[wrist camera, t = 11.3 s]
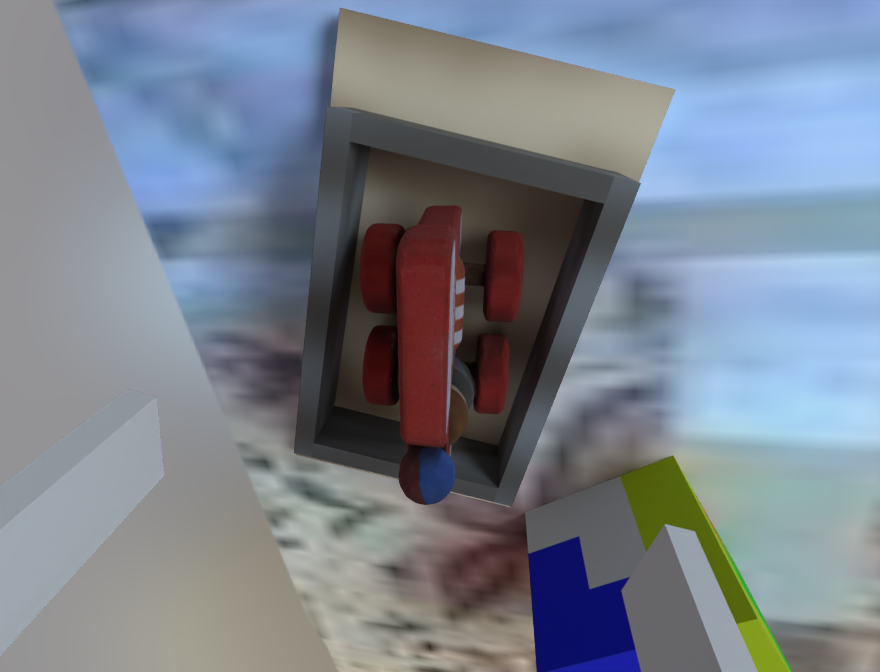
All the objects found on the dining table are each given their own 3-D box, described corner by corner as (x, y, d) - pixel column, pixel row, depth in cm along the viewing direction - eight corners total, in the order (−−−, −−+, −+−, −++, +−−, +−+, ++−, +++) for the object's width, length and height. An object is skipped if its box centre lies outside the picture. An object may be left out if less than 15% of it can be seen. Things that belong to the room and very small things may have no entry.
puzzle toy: (525, 511, 31) (536, 674, 22) (672, 455, 28) (757, 618, 19) (592, 600, 34) (627, 775, 25) (732, 559, 31) (830, 742, 22)
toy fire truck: (380, 403, 27) (319, 556, 18) (377, 182, 22) (287, 234, 12) (499, 415, 26) (502, 580, 17) (527, 191, 21) (553, 253, 12)
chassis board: (347, 12, 20) (308, -14, 16) (667, 90, 20) (712, 84, 16) (302, 444, 30) (272, 495, 26) (509, 495, 30) (511, 554, 26)
